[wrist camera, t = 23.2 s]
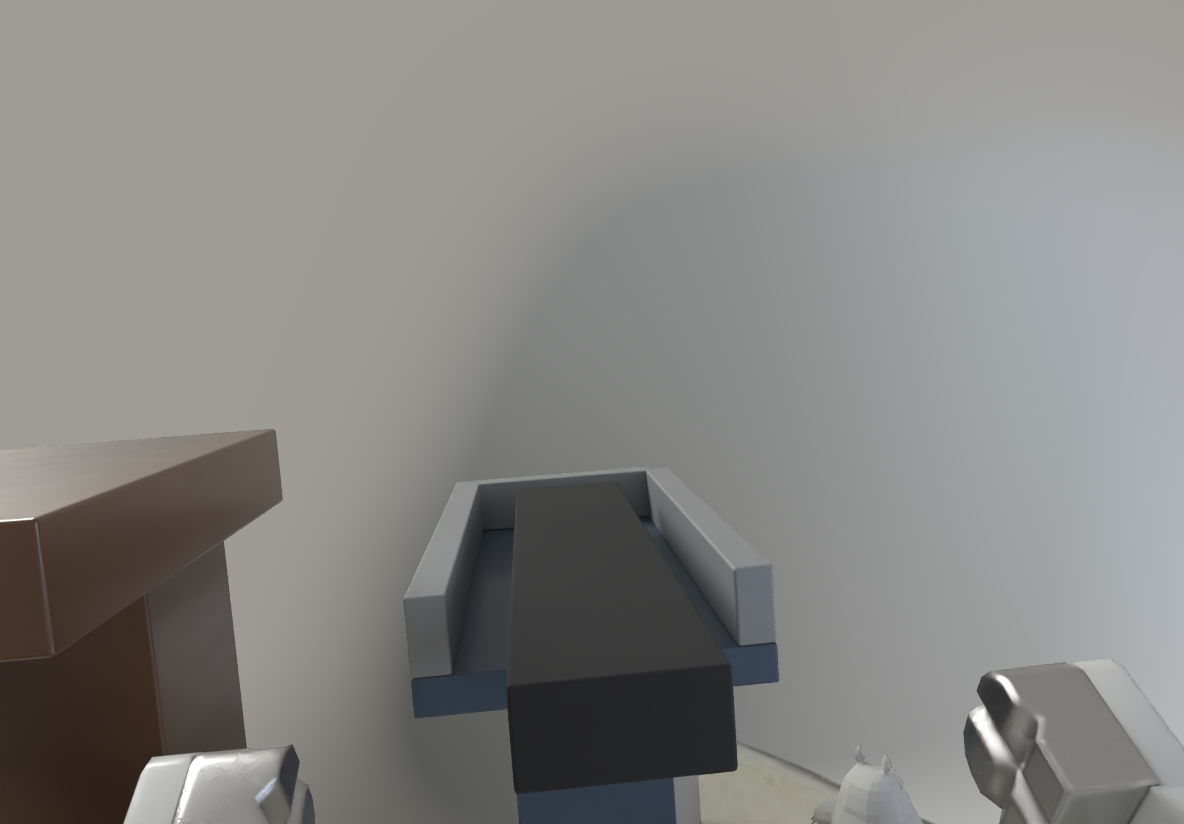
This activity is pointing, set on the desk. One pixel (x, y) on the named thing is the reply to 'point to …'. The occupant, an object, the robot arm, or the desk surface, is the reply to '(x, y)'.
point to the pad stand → (119, 613)
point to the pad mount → (482, 613)
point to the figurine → (869, 797)
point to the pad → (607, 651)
